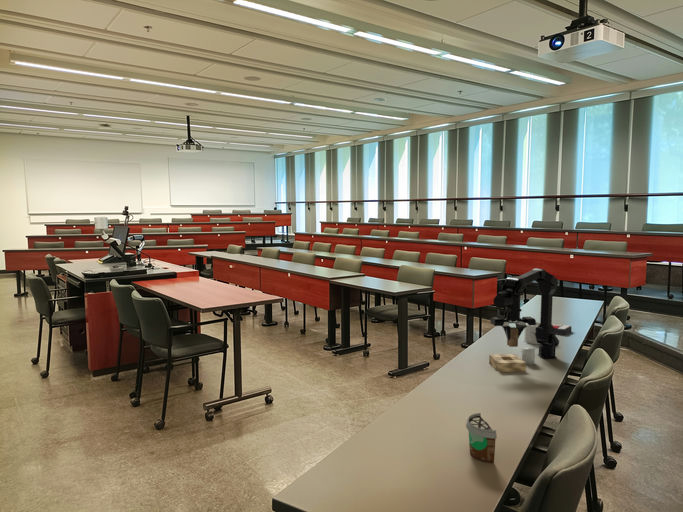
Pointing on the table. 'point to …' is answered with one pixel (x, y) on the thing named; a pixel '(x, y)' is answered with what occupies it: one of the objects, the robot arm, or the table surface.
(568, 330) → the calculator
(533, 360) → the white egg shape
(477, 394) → the table surface
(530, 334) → the mug
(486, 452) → the food container
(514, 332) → the square peg
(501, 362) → the socket block
